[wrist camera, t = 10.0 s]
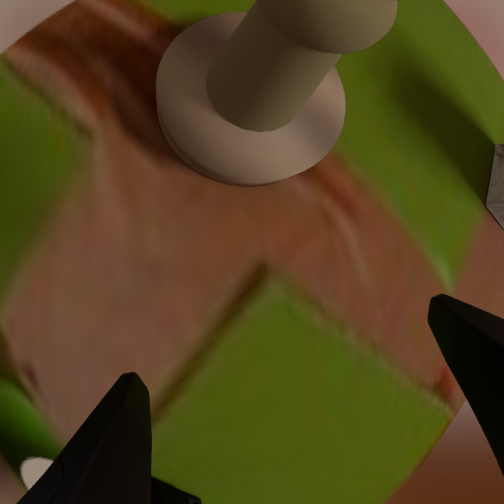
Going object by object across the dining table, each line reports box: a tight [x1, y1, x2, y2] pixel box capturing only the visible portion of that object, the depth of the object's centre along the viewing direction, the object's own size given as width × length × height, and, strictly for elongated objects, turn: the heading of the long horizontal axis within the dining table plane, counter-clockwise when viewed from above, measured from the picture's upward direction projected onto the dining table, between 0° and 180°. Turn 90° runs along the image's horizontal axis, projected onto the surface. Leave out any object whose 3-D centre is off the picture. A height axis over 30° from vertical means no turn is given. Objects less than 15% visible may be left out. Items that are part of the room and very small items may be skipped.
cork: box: [206, 0, 397, 132], centre depth 12 cm, size 6×6×11 cm
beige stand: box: [156, 12, 345, 187], centre depth 18 cm, size 12×12×3 cm
